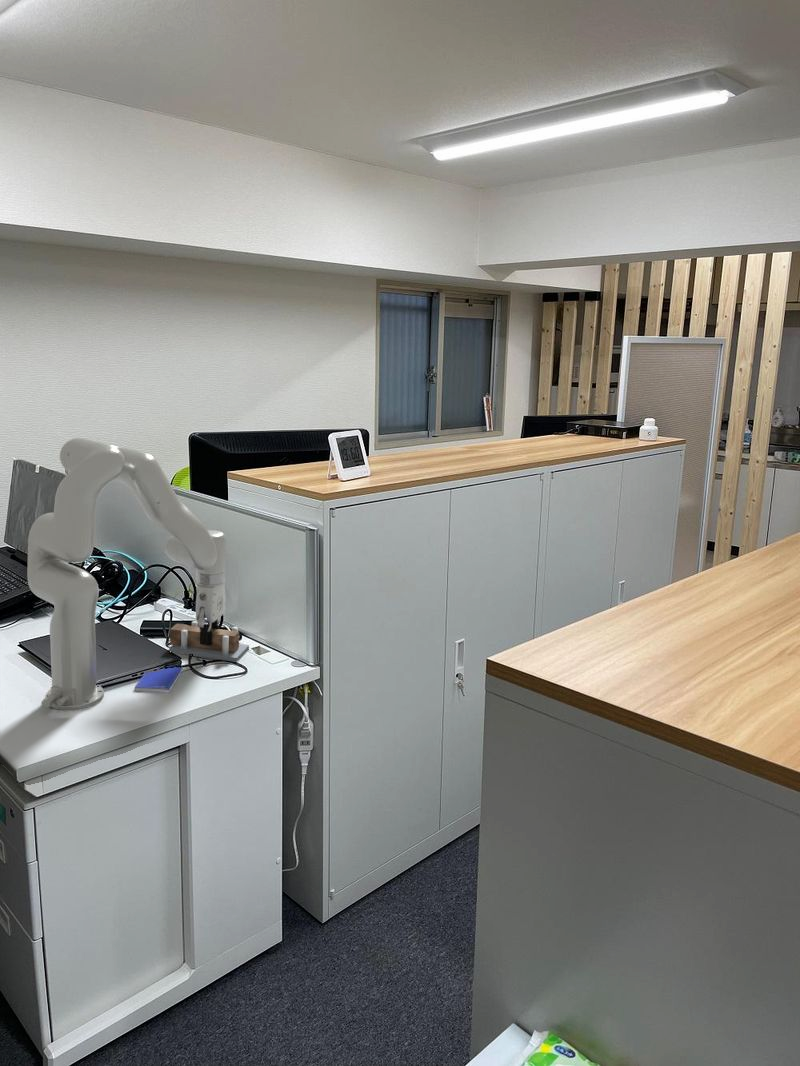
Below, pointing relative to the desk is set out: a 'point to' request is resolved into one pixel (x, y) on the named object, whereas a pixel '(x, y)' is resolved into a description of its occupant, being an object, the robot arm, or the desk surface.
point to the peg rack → (210, 653)
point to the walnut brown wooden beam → (194, 637)
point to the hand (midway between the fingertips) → (209, 640)
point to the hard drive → (159, 680)
